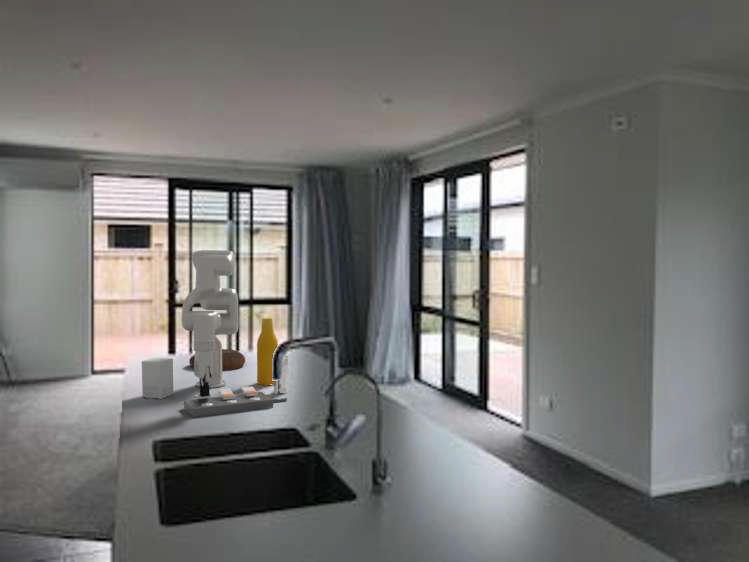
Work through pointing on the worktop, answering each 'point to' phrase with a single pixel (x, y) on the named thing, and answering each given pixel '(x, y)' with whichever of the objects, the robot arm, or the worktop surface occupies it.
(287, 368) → the beer glass
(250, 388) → the outlet rocker
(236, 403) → the power strip
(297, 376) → the worktop surface
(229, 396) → the outlet rocker
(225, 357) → the bread
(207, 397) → the rocker outlet
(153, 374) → the supplement box
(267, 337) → the beer bottle
